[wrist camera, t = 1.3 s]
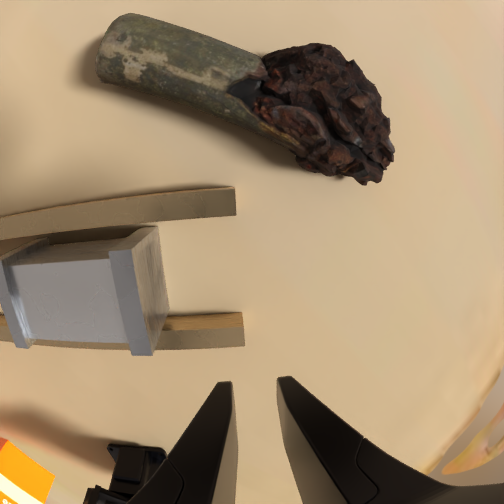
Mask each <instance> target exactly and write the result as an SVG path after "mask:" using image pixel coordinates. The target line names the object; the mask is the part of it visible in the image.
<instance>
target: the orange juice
mask: <svg viewBox="0 0 504 504" xmlns="http://www.w3.org/2000/svg"><path fill="white" fill-rule="evenodd" d="M54 478H55V476H54V475H53V474H51V473H50V472H48V471H47V470H46V469H44V468H43V467H41V466H40V465H39V464H37V463H36V462H34V461H33V460H32V459H30V458H29V457H28V456H27V455H25V454H24V453H23V452H21V451H20V450H19V449H18V448H16V447H15V446H14V445H13V444H12V443H10V442H9V441H7V442H6V443H5V445H4V446H3V447H2V449H1V450H0V504H45V501H46V498H47V496H48V493H49V490H50V488H51V485H52V483H53V480H54Z"/></svg>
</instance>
